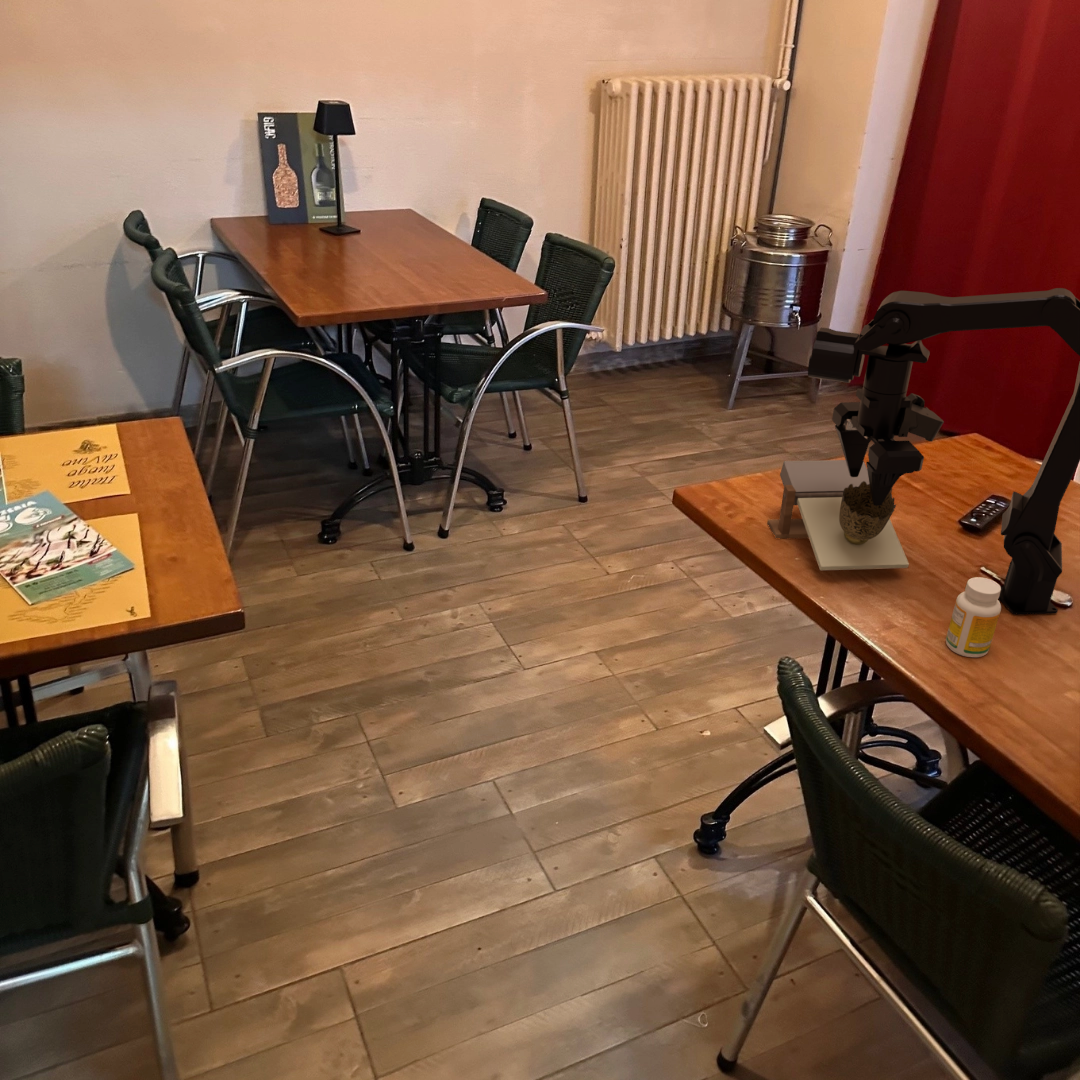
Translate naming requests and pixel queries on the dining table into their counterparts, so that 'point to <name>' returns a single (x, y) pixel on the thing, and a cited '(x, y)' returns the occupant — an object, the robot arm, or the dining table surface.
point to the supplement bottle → (974, 618)
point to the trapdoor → (825, 518)
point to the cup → (863, 514)
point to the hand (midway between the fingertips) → (865, 490)
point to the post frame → (785, 523)
